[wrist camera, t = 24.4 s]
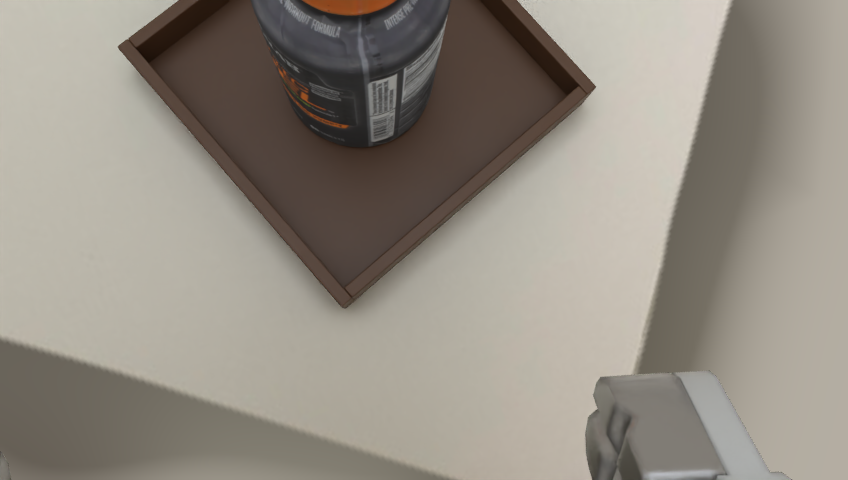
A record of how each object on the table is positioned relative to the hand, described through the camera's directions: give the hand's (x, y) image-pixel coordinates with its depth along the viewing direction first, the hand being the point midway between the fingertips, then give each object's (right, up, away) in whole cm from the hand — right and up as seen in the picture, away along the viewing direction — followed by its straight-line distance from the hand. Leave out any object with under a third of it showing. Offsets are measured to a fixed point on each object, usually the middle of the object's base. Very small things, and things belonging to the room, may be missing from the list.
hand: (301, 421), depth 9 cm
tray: (-1, +9, +19) cm, 21 cm away
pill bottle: (-1, +9, +19) cm, 21 cm away
